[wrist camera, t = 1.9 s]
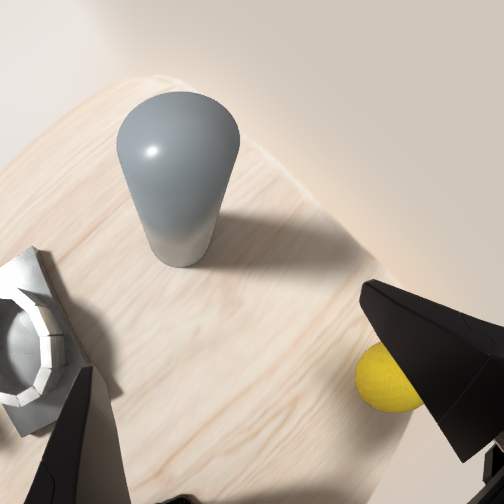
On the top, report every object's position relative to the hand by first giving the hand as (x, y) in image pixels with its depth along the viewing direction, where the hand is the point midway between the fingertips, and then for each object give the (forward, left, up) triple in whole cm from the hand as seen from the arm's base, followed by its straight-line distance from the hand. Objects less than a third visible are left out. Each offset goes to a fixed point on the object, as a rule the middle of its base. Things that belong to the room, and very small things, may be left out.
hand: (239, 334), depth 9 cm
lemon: (-10, -9, -13) cm, 19 cm away
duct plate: (+6, +13, -13) cm, 20 cm away
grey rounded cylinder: (+7, -2, -13) cm, 15 cm away
